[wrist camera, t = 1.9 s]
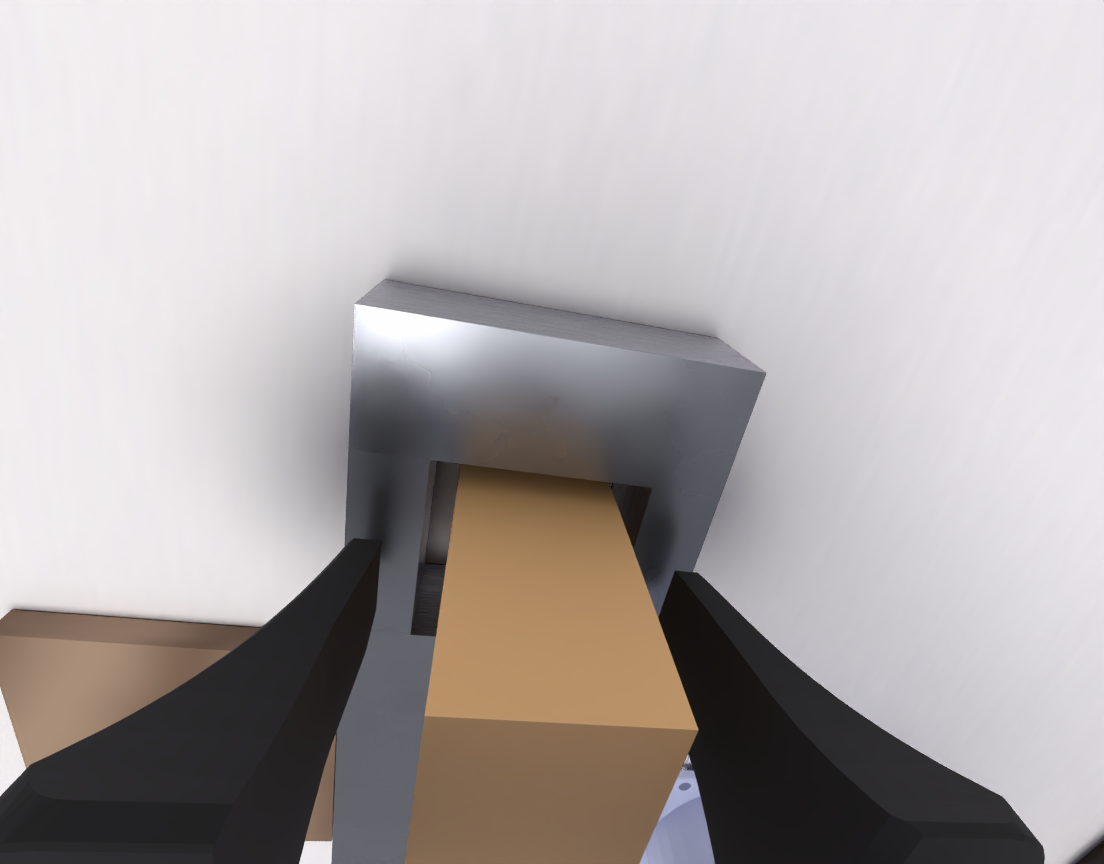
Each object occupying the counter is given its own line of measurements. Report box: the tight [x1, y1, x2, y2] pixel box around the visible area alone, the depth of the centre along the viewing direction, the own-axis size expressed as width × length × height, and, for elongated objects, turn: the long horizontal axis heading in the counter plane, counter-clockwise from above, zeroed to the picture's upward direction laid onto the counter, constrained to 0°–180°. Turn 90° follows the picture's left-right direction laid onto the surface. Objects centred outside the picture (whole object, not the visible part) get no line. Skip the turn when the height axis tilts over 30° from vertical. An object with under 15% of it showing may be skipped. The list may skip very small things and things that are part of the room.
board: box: [0, 610, 337, 841], centre depth 19 cm, size 10×10×1 cm
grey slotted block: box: [332, 280, 766, 864], centre depth 17 cm, size 9×22×3 cm, turn 169°
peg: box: [404, 464, 698, 864], centre depth 12 cm, size 4×4×9 cm
